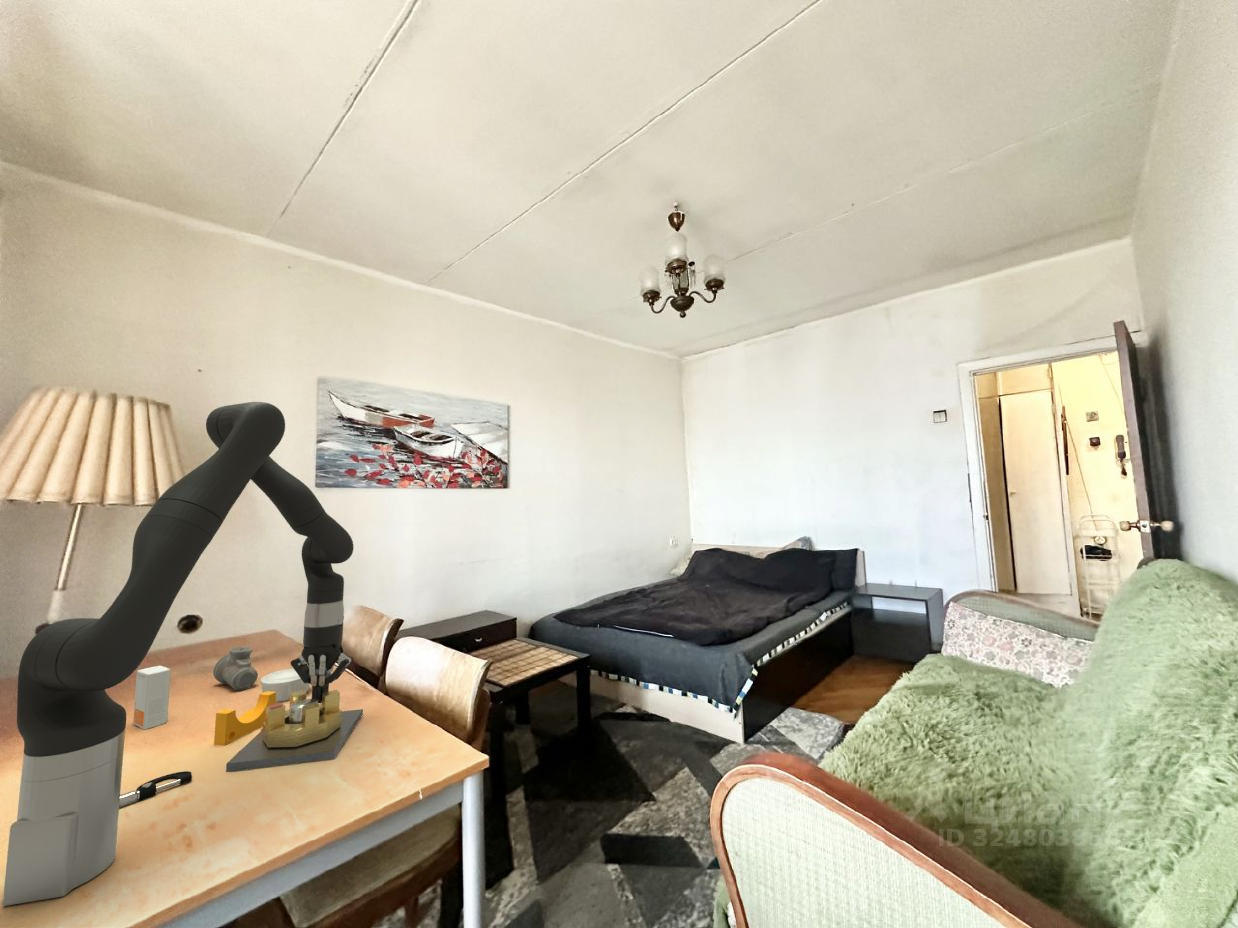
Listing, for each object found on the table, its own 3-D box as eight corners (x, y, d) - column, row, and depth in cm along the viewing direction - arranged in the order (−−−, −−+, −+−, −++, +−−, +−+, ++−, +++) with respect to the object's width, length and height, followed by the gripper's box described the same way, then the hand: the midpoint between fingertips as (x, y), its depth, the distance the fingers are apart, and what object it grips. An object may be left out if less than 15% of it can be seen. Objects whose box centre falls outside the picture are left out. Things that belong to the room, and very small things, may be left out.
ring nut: (315, 746, 94) (316, 710, 95) (248, 747, 94) (250, 711, 95) (350, 717, 107) (352, 685, 108) (292, 718, 107) (293, 686, 108)
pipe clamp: (258, 719, 111) (260, 690, 112) (274, 720, 111) (276, 691, 111) (206, 744, 99) (208, 712, 100) (224, 746, 99) (226, 713, 99)
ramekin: (271, 707, 118) (272, 685, 118) (251, 698, 123) (252, 677, 124) (319, 692, 127) (320, 672, 127) (298, 684, 133) (299, 665, 133)
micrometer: (185, 771, 90) (186, 757, 90) (196, 784, 86) (197, 769, 86) (63, 812, 78) (65, 795, 78) (68, 829, 74) (70, 811, 74)
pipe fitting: (209, 684, 132) (217, 646, 133) (244, 678, 139) (252, 641, 140) (223, 699, 125) (231, 659, 126) (259, 692, 132) (267, 654, 133)
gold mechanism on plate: (334, 758, 93) (336, 718, 94) (224, 772, 89) (226, 729, 89) (362, 715, 112) (363, 682, 113) (273, 724, 108) (275, 690, 109)
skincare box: (131, 724, 109) (136, 670, 110) (156, 717, 112) (160, 664, 113) (143, 730, 106) (147, 674, 107) (168, 722, 110) (172, 668, 111)
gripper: (282, 625, 104) (277, 709, 102) (344, 625, 104) (340, 709, 102) (304, 617, 111) (300, 695, 110) (362, 617, 111) (358, 695, 110)
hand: (319, 701), depth 106 cm, fingers closed
